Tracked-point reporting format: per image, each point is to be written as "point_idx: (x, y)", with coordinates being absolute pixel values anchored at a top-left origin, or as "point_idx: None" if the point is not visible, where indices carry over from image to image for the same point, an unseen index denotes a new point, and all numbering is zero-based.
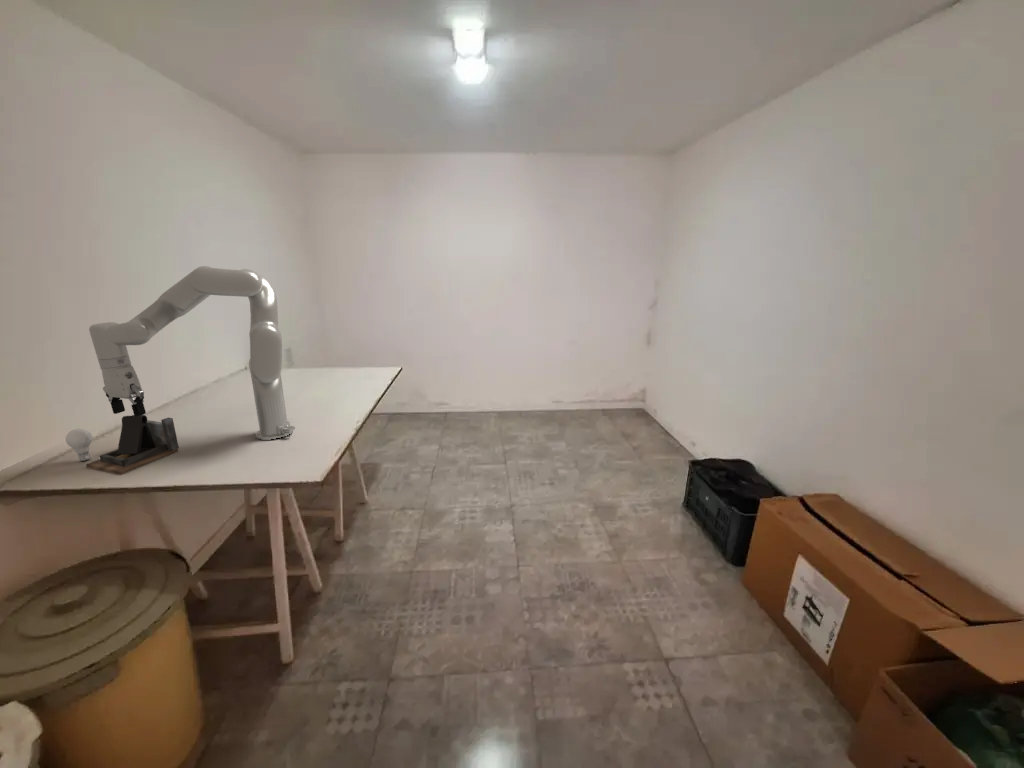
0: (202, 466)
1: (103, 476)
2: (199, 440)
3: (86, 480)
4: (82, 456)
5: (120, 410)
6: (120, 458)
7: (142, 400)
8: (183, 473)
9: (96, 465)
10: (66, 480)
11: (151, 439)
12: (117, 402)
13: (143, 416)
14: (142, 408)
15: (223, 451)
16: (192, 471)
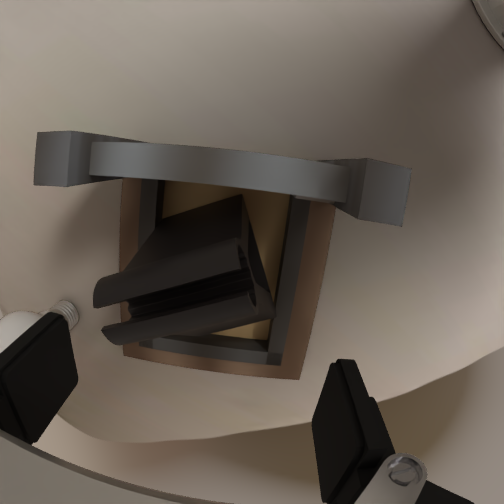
0: (492, 269)
1: (251, 390)
2: (322, 50)
3: (227, 412)
4: (69, 330)
5: (64, 355)
6: (245, 354)
7: (433, 487)
8: (469, 318)
9: (166, 360)
10: (172, 416)
11: (245, 215)
12: (24, 408)
13: (223, 266)
14: (380, 424)
15: (486, 151)
16: (483, 302)
